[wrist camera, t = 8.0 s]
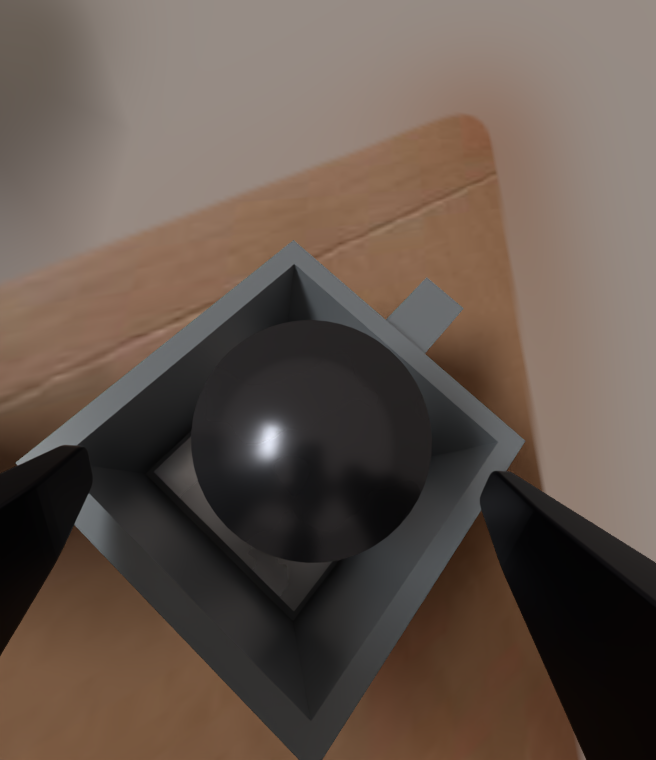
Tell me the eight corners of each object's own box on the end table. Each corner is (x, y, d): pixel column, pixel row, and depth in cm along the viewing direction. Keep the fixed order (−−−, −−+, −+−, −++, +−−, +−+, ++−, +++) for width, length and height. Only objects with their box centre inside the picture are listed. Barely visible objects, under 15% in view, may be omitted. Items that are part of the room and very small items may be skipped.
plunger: (292, 606, 13) (337, 825, 4) (158, 472, 13) (-28, 439, 5) (405, 459, 15) (576, 420, 7) (286, 351, 16) (305, 191, 7)
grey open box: (292, 642, 13) (312, 774, 7) (127, 475, 14) (15, 462, 8) (457, 419, 17) (565, 378, 11) (320, 298, 18) (347, 197, 12)
